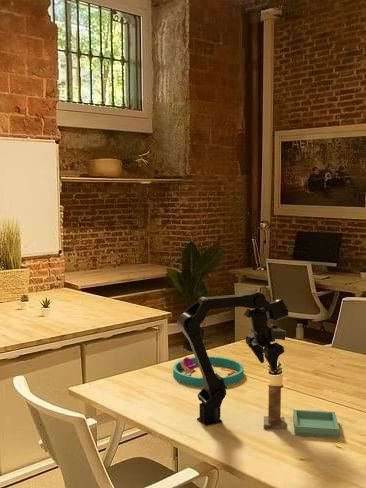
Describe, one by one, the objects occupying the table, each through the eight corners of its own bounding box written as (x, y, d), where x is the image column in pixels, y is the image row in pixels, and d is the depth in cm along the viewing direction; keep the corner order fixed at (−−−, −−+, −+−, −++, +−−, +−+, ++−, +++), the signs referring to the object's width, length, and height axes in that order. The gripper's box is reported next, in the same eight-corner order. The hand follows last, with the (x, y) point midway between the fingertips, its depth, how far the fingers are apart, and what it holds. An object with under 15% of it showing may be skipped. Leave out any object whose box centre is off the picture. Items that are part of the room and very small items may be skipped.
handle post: (263, 428, 189) (264, 391, 188) (264, 420, 196) (264, 383, 195) (285, 430, 188) (285, 392, 187) (284, 421, 195) (285, 384, 194)
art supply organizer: (191, 361, 263) (191, 348, 262) (253, 370, 250) (253, 357, 249) (160, 381, 236) (160, 367, 236) (228, 393, 223) (228, 378, 223)
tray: (294, 435, 184) (294, 426, 184) (293, 417, 198) (293, 409, 198) (339, 438, 182) (339, 429, 182) (334, 420, 196) (334, 411, 196)
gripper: (293, 324, 192) (301, 367, 195) (268, 312, 209) (275, 352, 212) (264, 334, 189) (273, 378, 191) (241, 321, 206) (249, 361, 209)
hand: (268, 366), depth 201 cm, fingers open, 9 cm apart
